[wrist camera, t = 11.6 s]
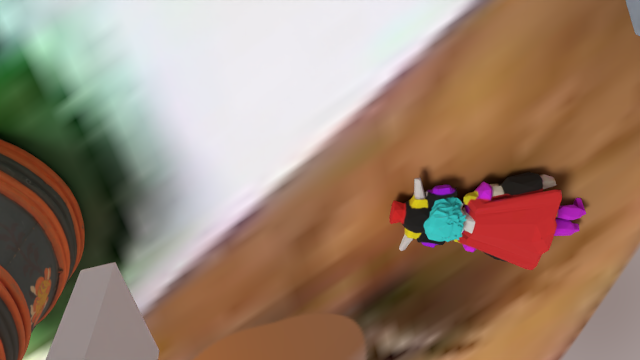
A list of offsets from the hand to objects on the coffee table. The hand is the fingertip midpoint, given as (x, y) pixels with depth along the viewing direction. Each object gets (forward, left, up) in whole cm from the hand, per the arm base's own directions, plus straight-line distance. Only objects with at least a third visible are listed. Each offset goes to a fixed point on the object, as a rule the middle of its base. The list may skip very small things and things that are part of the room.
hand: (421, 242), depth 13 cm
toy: (+19, +10, -27) cm, 34 cm away
